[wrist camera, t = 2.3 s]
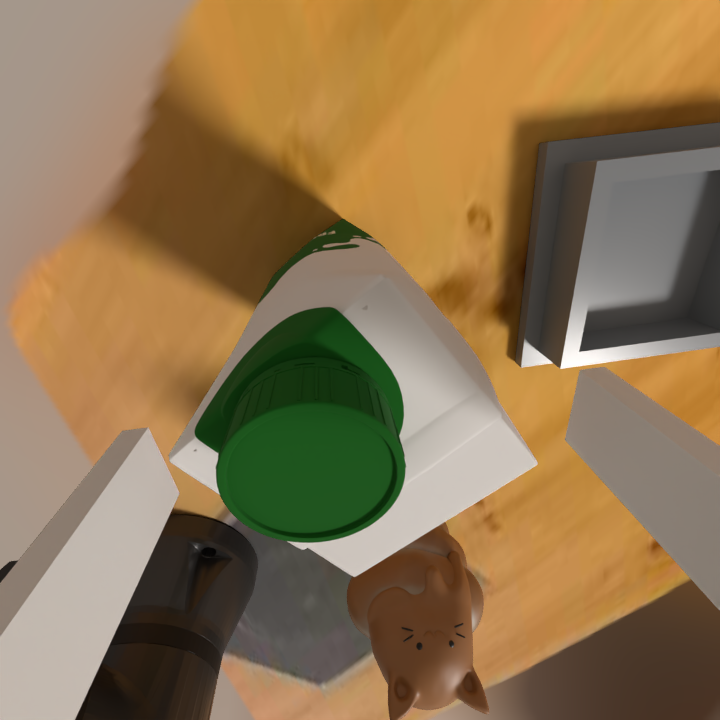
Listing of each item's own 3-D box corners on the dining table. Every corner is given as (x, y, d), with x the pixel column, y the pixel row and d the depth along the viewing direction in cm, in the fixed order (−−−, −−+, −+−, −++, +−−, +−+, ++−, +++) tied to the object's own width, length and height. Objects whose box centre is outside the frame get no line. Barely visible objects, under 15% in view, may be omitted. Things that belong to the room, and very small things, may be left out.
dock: (515, 361, 30) (540, 386, 27) (539, 143, 23) (579, 136, 19) (694, 337, 31) (743, 357, 27) (774, 116, 24) (854, 105, 20)
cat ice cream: (435, 437, 33) (540, 676, 17) (422, 497, 37) (499, 743, 21) (340, 437, 32) (358, 692, 16) (336, 499, 36) (348, 760, 20)
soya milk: (344, 196, 23) (415, 252, 6) (422, 297, 27) (618, 525, 9) (251, 284, 25) (83, 532, 8) (335, 367, 29) (358, 666, 11)
